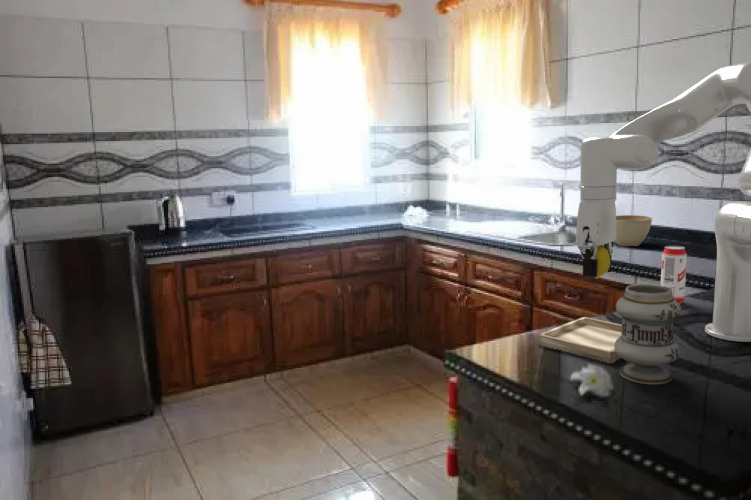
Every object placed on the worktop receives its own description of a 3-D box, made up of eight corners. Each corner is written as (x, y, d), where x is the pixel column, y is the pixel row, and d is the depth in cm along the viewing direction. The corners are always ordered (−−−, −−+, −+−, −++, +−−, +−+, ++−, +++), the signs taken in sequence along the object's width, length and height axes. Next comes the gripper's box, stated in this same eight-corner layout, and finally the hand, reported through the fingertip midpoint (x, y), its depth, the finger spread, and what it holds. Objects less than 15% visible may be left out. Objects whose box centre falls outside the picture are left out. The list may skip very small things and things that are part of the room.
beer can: (656, 303, 177) (659, 247, 174) (664, 298, 181) (666, 244, 179) (679, 306, 173) (683, 250, 170) (687, 301, 177) (690, 246, 174)
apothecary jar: (614, 361, 132) (617, 279, 129) (676, 368, 128) (681, 283, 125) (612, 382, 121) (615, 293, 118) (680, 390, 117) (686, 297, 114)
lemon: (603, 275, 143) (604, 241, 142) (614, 280, 138) (614, 245, 136) (580, 276, 143) (580, 242, 142) (589, 282, 138) (589, 246, 136)
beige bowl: (619, 240, 282) (620, 214, 280) (658, 244, 268) (659, 216, 266) (597, 245, 271) (598, 218, 269) (637, 250, 257) (638, 221, 255)
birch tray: (583, 326, 158) (583, 316, 157) (654, 341, 144) (654, 331, 144) (538, 344, 145) (538, 334, 144) (610, 363, 131) (611, 352, 131)
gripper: (601, 190, 145) (600, 265, 149) (562, 197, 134) (561, 278, 137) (632, 190, 140) (631, 269, 143) (594, 198, 129) (593, 283, 132)
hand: (597, 273), depth 140 cm, fingers closed on lemon, 5 cm apart
